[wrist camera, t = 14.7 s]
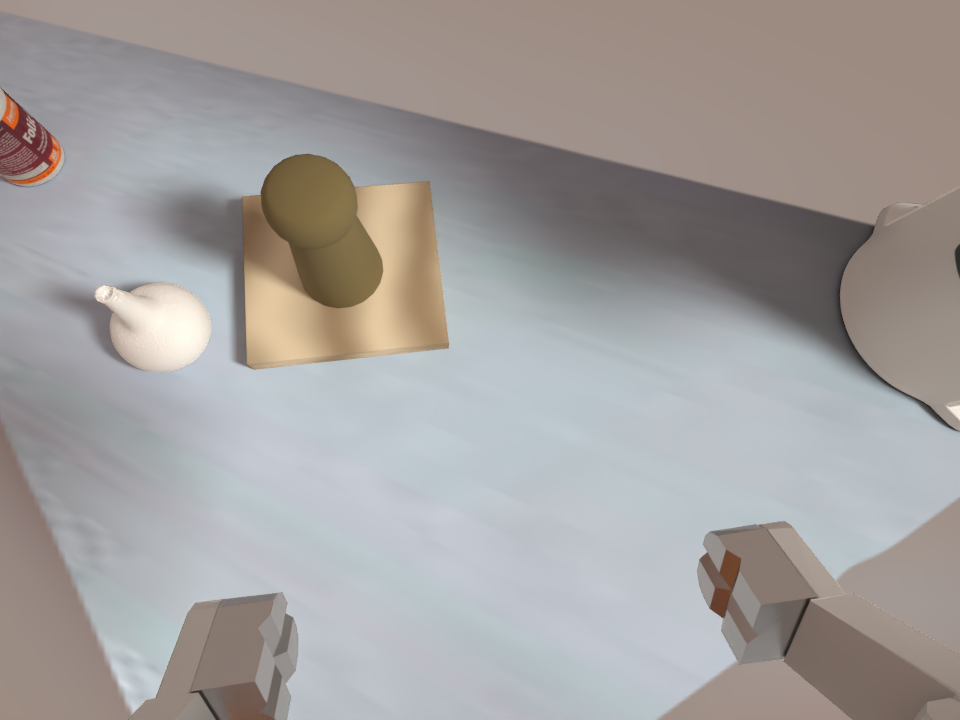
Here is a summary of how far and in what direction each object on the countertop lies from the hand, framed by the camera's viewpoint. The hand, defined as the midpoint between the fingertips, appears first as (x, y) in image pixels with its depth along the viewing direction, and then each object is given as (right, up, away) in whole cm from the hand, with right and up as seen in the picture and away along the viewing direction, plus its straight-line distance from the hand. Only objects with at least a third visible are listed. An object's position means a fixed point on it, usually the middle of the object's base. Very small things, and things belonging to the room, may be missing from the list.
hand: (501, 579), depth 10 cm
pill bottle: (-35, +20, +31) cm, 51 cm away
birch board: (-10, +11, +30) cm, 34 cm away
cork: (-10, +11, +29) cm, 33 cm away
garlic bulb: (-23, +6, +29) cm, 37 cm away
